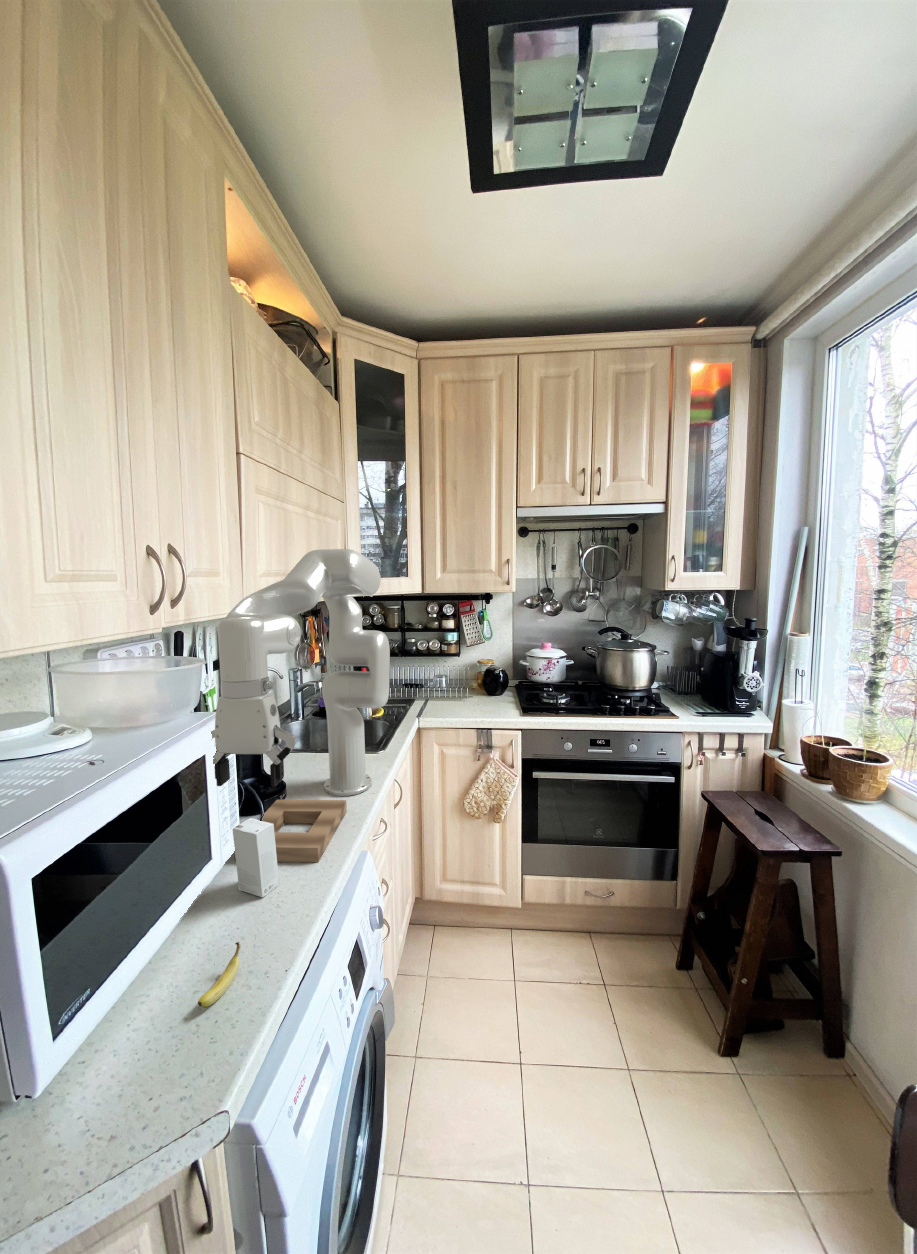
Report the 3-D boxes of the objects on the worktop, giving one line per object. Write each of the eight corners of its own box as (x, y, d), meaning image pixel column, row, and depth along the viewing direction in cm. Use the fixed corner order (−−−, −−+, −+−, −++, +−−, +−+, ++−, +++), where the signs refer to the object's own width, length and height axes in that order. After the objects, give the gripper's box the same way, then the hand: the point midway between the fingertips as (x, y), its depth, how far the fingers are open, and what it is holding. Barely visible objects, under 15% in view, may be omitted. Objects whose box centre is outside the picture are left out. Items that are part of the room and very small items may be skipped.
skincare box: (280, 884, 87) (276, 822, 85) (261, 900, 83) (257, 834, 81) (255, 876, 89) (251, 815, 88) (235, 891, 85) (231, 827, 84)
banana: (235, 965, 69) (234, 939, 68) (246, 966, 69) (244, 941, 68) (195, 1016, 61) (193, 988, 60) (207, 1018, 61) (205, 989, 60)
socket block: (277, 811, 114) (276, 799, 114) (346, 811, 113) (346, 800, 113) (235, 860, 94) (234, 846, 94) (318, 861, 93) (318, 847, 93)
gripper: (302, 683, 85) (305, 775, 87) (209, 683, 86) (214, 774, 87) (285, 693, 78) (289, 793, 79) (183, 693, 78) (189, 792, 80)
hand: (250, 783), depth 83 cm, fingers open, 9 cm apart
